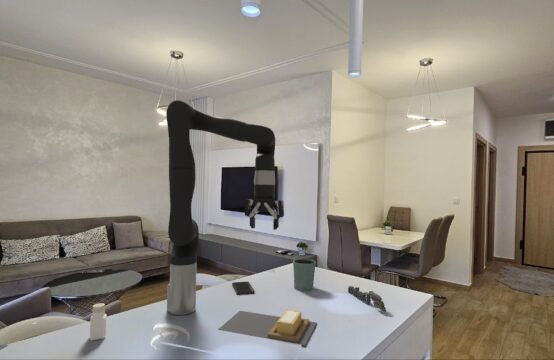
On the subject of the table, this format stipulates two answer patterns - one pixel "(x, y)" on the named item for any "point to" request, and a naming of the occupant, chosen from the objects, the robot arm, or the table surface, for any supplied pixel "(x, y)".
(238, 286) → the phone
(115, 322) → the table surface
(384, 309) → the block letters
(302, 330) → the mat
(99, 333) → the pepper shaker
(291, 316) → the card box
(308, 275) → the green cup
